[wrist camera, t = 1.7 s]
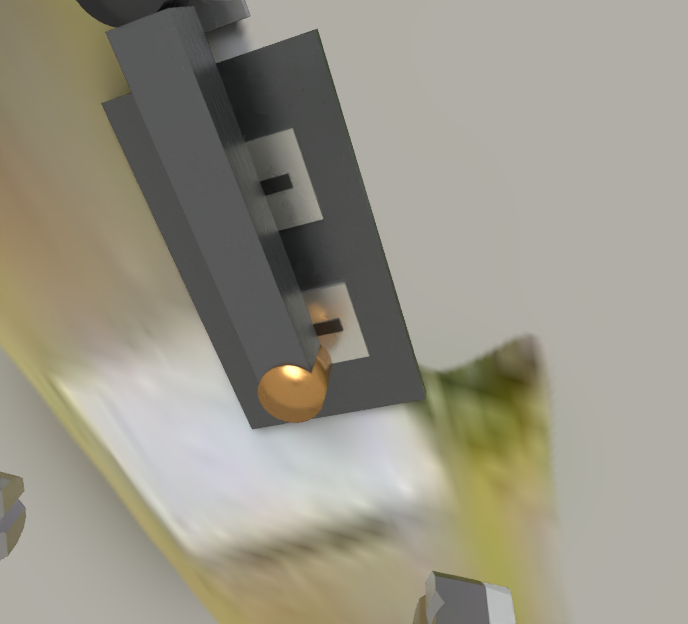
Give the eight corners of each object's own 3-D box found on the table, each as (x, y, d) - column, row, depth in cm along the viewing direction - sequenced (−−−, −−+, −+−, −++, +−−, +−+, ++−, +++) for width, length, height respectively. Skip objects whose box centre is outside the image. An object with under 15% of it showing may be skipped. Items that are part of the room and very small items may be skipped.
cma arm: (79, -70, 26) (37, -77, 23) (168, -109, 25) (135, -121, 22) (277, 394, 37) (264, 428, 34) (346, 381, 35) (339, 415, 33)
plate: (317, 28, 30) (313, 30, 28) (425, 391, 39) (425, 402, 38) (108, 100, 32) (97, 104, 31) (255, 421, 42) (250, 432, 41)
